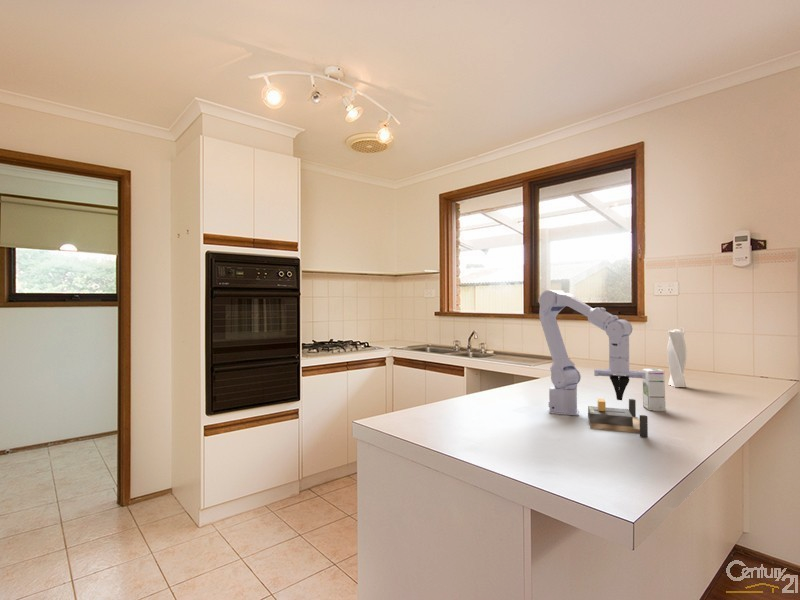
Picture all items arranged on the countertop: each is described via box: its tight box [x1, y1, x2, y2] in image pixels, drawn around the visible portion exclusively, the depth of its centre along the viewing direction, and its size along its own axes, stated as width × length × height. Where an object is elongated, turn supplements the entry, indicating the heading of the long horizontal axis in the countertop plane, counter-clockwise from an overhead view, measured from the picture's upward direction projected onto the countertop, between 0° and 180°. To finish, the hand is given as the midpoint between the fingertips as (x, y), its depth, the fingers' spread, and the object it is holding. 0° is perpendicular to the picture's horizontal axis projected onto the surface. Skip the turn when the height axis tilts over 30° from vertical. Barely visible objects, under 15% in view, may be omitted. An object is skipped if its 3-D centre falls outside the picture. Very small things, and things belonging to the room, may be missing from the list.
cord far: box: [628, 398, 637, 417], centre depth 142 cm, size 2×2×6 cm
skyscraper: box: [666, 326, 687, 388], centre depth 192 cm, size 8×8×28 cm
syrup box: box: [641, 368, 667, 412], centre depth 152 cm, size 6×6×14 cm
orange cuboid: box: [597, 398, 607, 411], centre depth 135 cm, size 2×4×3 cm, turn 158°
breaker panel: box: [587, 405, 640, 434], centre depth 134 cm, size 15×15×4 cm
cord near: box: [639, 414, 649, 439], centre depth 121 cm, size 2×2×6 cm
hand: (619, 399), depth 133 cm, fingers closed
